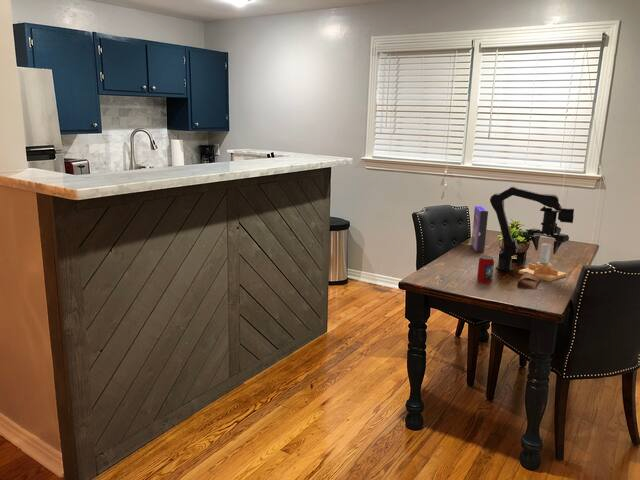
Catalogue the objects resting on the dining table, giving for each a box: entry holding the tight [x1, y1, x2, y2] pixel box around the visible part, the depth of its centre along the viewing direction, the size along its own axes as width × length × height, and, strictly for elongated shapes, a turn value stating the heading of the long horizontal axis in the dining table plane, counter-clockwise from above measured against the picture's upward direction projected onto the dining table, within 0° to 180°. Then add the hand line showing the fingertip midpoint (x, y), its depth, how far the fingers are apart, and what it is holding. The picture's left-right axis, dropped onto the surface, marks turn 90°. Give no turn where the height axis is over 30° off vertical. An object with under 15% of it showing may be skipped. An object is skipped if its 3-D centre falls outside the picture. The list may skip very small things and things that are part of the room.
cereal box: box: [470, 205, 489, 252], centre depth 303 cm, size 17×5×24 cm, turn 172°
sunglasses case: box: [516, 272, 542, 291], centre depth 239 cm, size 18×7×7 cm, turn 151°
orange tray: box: [518, 261, 568, 282], centre depth 254 cm, size 16×16×6 cm
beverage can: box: [476, 255, 495, 285], centre depth 238 cm, size 7×7×12 cm
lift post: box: [538, 242, 552, 264], centre depth 252 cm, size 3×3×10 cm
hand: (545, 252), depth 252 cm, fingers open, 9 cm apart
